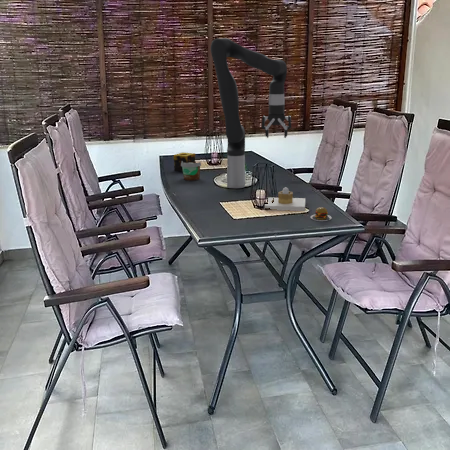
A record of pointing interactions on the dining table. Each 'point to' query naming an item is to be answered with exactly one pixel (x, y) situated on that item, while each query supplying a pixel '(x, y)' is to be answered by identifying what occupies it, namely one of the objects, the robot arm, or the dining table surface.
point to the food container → (191, 171)
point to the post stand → (296, 204)
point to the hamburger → (321, 214)
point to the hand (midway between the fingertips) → (276, 137)
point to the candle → (185, 158)
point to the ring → (285, 197)
